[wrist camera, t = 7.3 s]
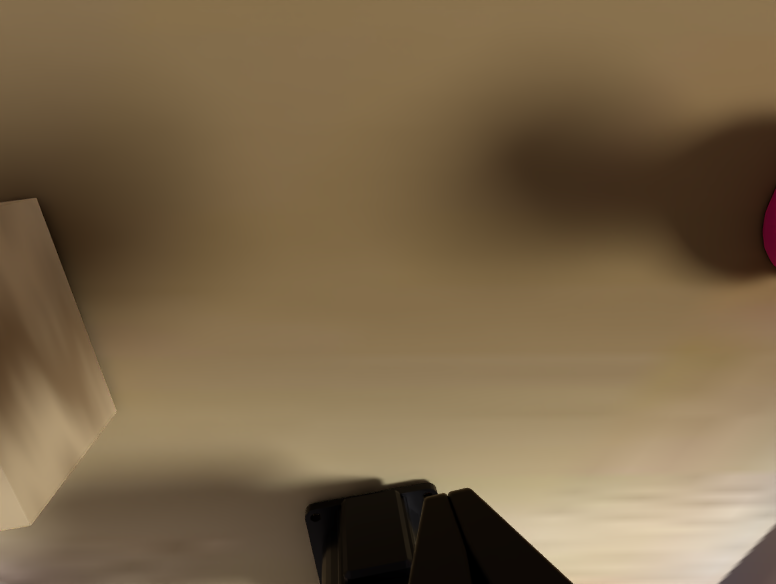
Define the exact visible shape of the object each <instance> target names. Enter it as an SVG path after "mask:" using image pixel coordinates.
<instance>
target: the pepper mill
mask: <svg viewBox="0 0 776 584" xmlns="http://www.w3.org/2000/svg"><path fill="white" fill-rule="evenodd" d="M763 240H764V248H765V250H766V252H767V254H768V256H769V259H770V261H771V262H772V263H773V265H774V266H775V267H776V189H775V191H774V193H773V196H772V198H771V200H770V203H769V205H768V207H767V210H766V212H765V218H764V224H763Z"/></svg>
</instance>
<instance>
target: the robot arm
mask: <svg viewBox="0 0 776 584" xmlns="http://www.w3.org/2000/svg"><path fill="white" fill-rule="evenodd" d="M426 493H430V494H428V495H424V494H426ZM315 513H318V514H319V515H313V514H315ZM305 521H306V525H307V529H308V533H309V538H310V542H311V546H312V550H313V555H314V559H315V563H316V568H317V572H318V576H319V580H320V584H573V583H572V582H571V581H570V580H569V579H568V578H567V577H565V576H564V575H563V574H562V573H561V572H560V571H559V570H558V569H557V568H556V567H555V566H554V565H553V564H551V563H550V562H549V561H548V560H547V559H546V558H545V557H544V556H543V555H542V554H541V553H540V552H539V551H537V550H536V549H535V548H534V547H533V546H532V545H531V544H530V543H529V542H528V541H527V540H526V539H525V538H523V537H522V536H521V535H520V534H519V533H518V532H517V531H516V530H515V529H514V528H513V527H512V526H511V525H509V524H508V523H507V522H506V521H505V520H504V519H503V518H502V517H501V516H500V515H499V514H498V513H497V512H495V511H494V510H493V509H492V508H491V507H490V506H489V505H488V504H487V503H486V502H485V501H484V500H483V499H481V498H480V497H479V496H478V495H477V494H476V493H475V492H474V491H473V490H472V489H470V488H464V489H459V490H455V491H451V492H449V494H448V496H447V495H446V494H445V493H441V494H438V493H437V490H436V487H435V485H433V484H431V483H422V484H417V485H411V486H406V487H400V488H395V489H389V490H384V491H378V492H373V493H367V494H362V495H356V496H351V497H345V498H340V499H334V500H329V501H324V502H318V503H313V504H310V505H309V506H308V507H307V509H306V514H305Z"/></svg>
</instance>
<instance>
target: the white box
mask: <svg viewBox="0 0 776 584" xmlns="http://www.w3.org/2000/svg"><path fill="white" fill-rule="evenodd" d="M116 412H117V411H116V408H115V405H114V403H113V400H112V397H111V395H110V392H109V389H108V387H107V384H106V381H105V379H104V376H103V374H102V371H101V368H100V366H99V363H98V360H97V358H96V355H95V352H94V350H93V347H92V344H91V342H90V339H89V336H88V334H87V331H86V328H85V326H84V323H83V320H82V318H81V315H80V312H79V310H78V307H77V304H76V302H75V299H74V297H73V294H72V291H71V289H70V286H69V283H68V281H67V278H66V275H65V273H64V270H63V267H62V265H61V262H60V259H59V257H58V254H57V251H56V249H55V246H54V243H53V241H52V238H51V235H50V233H49V230H48V227H47V225H46V222H45V219H44V217H43V214H42V212H41V209H40V206H39V204H38V201H37V198H30V199H23V200H15V201H8V202H0V531H4V530H9V529H15V528H20V527H26V526H31V525H32V524H33V522H34V521H35V520H36V518H37V517H38V516H39V514H40V513H41V512H42V510H43V509H44V508H45V506H46V505H47V504H48V502H49V501H50V500H51V498H52V497H53V496H54V494H55V493H56V492H57V490H58V489H59V488H60V486H61V485H62V484H63V482H64V481H65V480H66V478H67V477H68V476H69V474H70V473H71V472H72V470H73V469H74V468H75V466H76V465H77V464H78V463H79V461H80V460H81V459H82V457H83V456H84V455H85V453H86V452H87V451H88V449H89V448H90V447H91V445H92V444H93V443H94V441H95V440H96V439H97V437H98V436H99V435H100V433H101V432H102V431H103V429H104V428H105V427H106V425H107V424H108V423H109V421H110V420H111V419H112V417H113V416H114V415H115V413H116Z"/></svg>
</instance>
